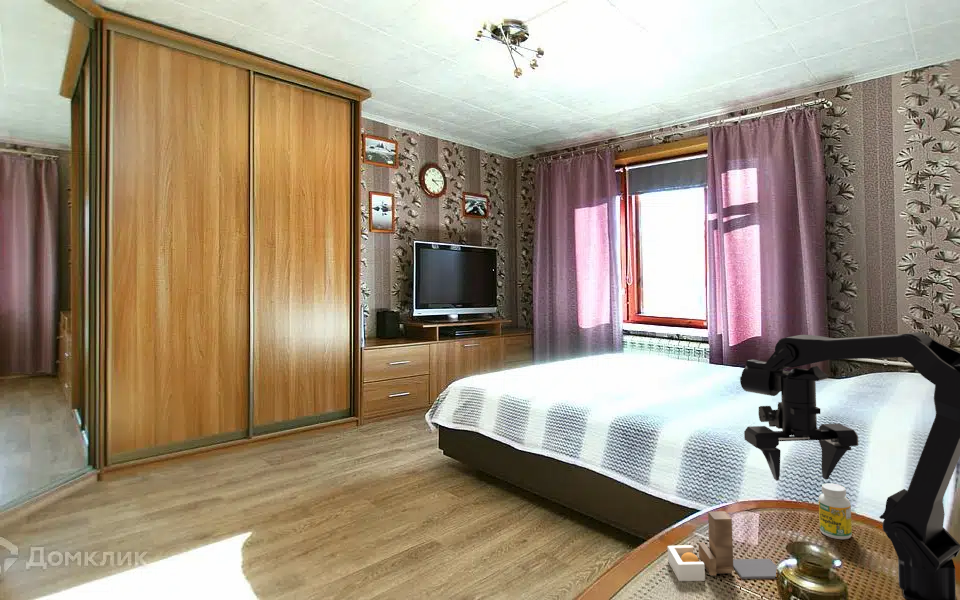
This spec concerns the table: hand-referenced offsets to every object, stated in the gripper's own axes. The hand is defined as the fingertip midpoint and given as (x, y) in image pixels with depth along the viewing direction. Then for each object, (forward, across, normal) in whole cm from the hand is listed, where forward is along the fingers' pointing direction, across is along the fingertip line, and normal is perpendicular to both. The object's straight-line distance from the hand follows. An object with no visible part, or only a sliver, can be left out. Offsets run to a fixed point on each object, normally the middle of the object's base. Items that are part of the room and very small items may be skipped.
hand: (800, 479), depth 100 cm
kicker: (+12, +20, +8) cm, 25 cm away
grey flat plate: (+13, +13, +8) cm, 20 cm away
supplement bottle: (+13, -9, -4) cm, 16 cm away
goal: (+13, +25, +8) cm, 29 cm away
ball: (+11, +24, +8) cm, 28 cm away
